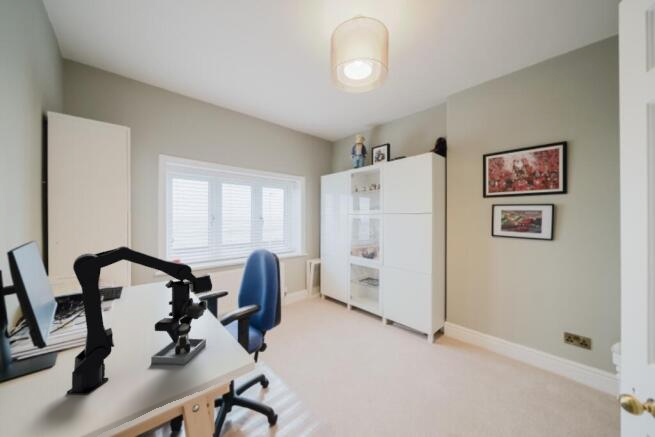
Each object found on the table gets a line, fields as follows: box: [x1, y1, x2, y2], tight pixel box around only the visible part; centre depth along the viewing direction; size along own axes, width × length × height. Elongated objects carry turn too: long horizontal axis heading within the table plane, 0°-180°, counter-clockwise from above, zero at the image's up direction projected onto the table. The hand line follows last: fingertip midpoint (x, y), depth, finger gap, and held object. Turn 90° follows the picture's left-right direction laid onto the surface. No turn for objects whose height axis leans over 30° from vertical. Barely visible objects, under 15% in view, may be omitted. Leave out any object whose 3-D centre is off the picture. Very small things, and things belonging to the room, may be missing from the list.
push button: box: [170, 323, 192, 355], centre depth 87 cm, size 7×5×10 cm
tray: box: [150, 337, 207, 366], centre depth 88 cm, size 13×12×2 cm
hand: (180, 338), depth 88 cm, fingers open, 5 cm apart
